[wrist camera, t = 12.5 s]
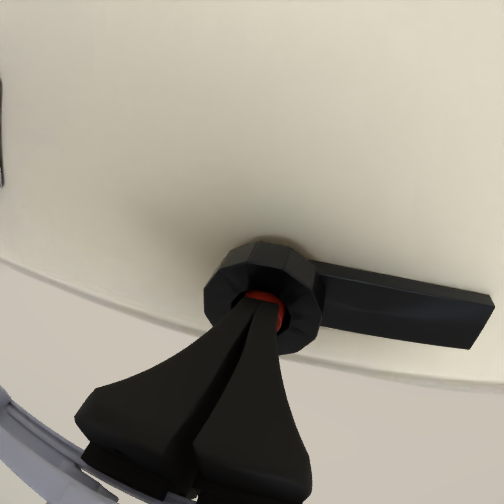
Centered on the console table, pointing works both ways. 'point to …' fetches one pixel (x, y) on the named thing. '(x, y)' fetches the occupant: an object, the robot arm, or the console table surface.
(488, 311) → the lever handle
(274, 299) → the bell button
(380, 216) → the console table surface
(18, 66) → the console table surface
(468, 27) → the console table surface
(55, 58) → the console table surface
